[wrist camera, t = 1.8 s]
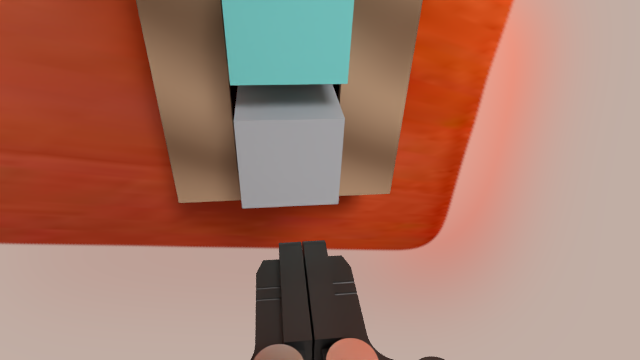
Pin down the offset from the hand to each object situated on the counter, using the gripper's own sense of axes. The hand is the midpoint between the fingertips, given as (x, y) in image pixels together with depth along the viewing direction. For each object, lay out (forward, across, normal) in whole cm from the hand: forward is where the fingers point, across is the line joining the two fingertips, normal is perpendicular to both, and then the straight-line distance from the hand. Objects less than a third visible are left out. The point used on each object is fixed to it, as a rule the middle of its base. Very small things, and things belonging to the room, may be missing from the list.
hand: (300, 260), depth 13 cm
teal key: (+9, 0, -6) cm, 11 cm away
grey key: (+10, 0, 0) cm, 10 cm away
